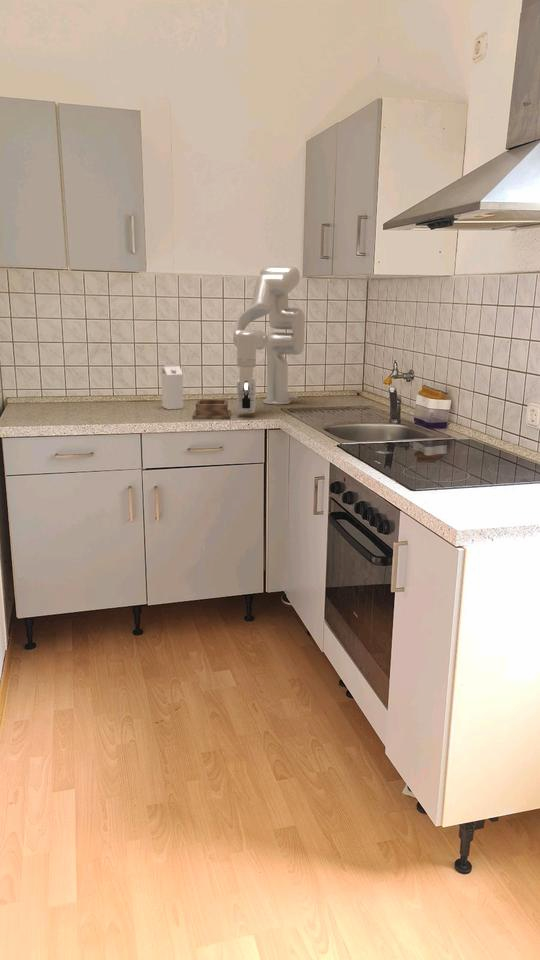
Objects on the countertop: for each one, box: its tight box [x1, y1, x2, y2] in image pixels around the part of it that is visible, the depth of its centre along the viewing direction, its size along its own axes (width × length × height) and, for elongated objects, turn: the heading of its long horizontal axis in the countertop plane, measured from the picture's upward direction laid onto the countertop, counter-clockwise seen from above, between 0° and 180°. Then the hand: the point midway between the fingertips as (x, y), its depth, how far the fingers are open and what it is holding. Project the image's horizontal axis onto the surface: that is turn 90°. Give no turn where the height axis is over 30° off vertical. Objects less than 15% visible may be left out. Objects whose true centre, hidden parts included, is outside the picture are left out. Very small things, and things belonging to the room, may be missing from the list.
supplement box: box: [236, 378, 256, 413], centre depth 287 cm, size 7×7×13 cm
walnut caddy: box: [191, 399, 232, 420], centre depth 288 cm, size 15×15×6 cm
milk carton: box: [160, 363, 184, 410], centre depth 303 cm, size 7×7×19 cm
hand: (246, 406), depth 288 cm, fingers closed on supplement box, 7 cm apart
